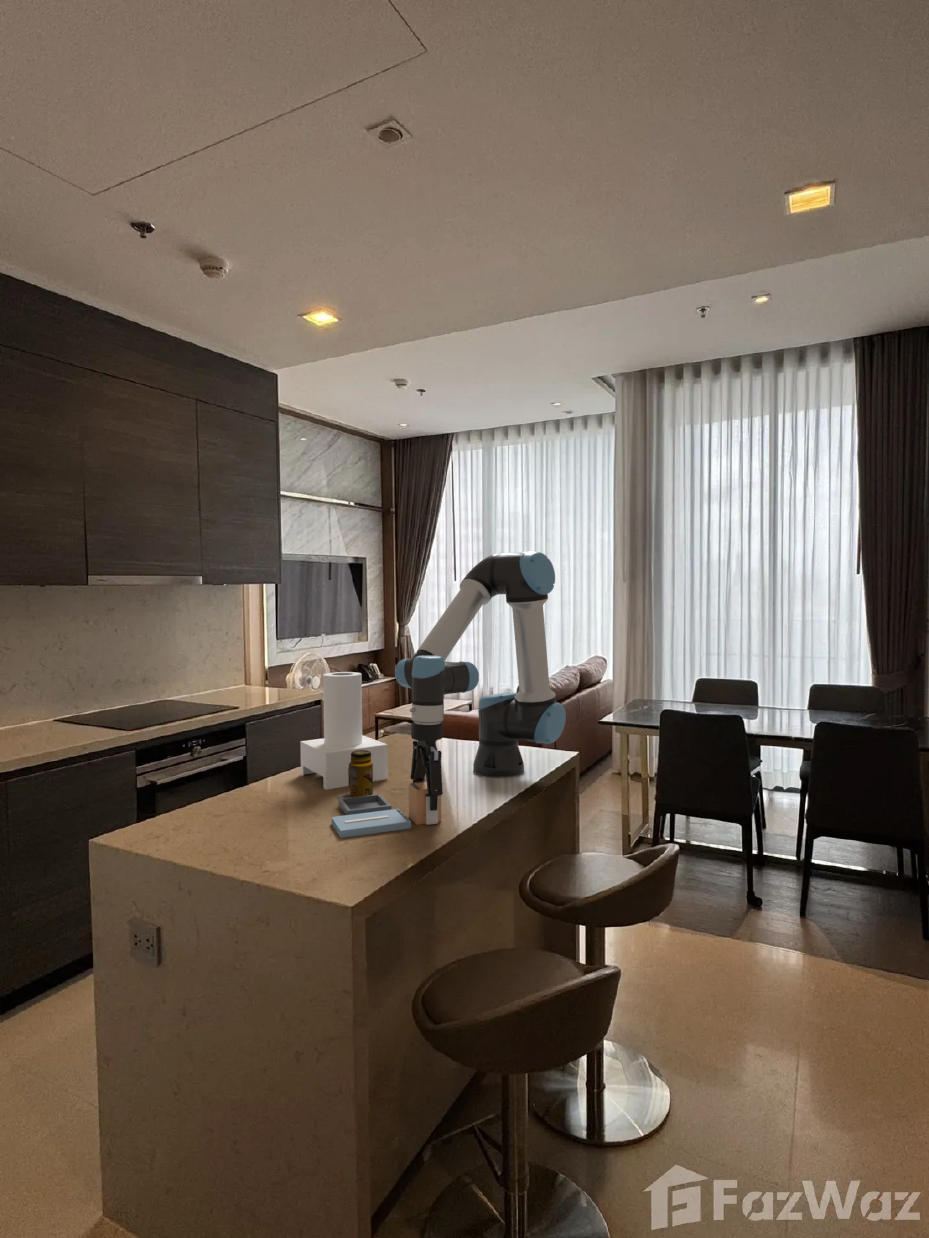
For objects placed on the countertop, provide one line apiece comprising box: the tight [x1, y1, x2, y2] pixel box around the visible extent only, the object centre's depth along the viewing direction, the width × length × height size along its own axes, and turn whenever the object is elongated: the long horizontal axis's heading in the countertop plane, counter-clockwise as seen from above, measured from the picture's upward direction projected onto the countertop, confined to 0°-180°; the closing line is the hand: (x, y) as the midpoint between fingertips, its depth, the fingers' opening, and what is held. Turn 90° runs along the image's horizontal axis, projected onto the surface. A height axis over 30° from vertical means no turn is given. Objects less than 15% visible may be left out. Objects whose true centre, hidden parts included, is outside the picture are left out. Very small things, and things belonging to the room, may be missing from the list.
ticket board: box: [330, 808, 412, 839], centre depth 157 cm, size 16×10×2 cm, turn 112°
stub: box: [408, 782, 442, 825], centre depth 161 cm, size 6×6×8 cm
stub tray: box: [338, 793, 392, 816], centre depth 168 cm, size 11×11×2 cm
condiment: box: [337, 750, 374, 799], centre depth 179 cm, size 7×8×12 cm
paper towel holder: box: [300, 671, 389, 791], centre depth 199 cm, size 19×19×30 cm
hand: (425, 817), depth 162 cm, fingers open, 9 cm apart
